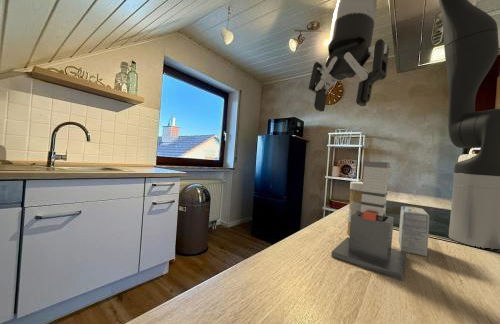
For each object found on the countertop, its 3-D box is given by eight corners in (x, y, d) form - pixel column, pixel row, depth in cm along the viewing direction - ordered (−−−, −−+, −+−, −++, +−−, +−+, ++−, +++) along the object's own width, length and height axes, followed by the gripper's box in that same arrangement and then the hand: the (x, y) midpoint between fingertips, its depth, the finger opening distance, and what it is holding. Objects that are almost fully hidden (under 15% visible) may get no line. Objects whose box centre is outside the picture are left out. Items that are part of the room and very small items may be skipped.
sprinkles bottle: (351, 230, 57) (355, 180, 57) (369, 236, 53) (374, 183, 53) (343, 233, 54) (347, 181, 54) (361, 240, 50) (366, 183, 50)
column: (361, 243, 44) (367, 161, 43) (383, 249, 41) (389, 162, 41) (357, 249, 41) (363, 161, 40) (380, 256, 38) (387, 162, 38)
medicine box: (427, 257, 43) (430, 215, 43) (400, 251, 45) (403, 210, 45) (421, 245, 50) (424, 208, 49) (397, 240, 52) (400, 205, 52)
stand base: (347, 241, 49) (350, 201, 49) (406, 257, 42) (410, 211, 42) (331, 256, 40) (334, 208, 40) (402, 280, 33) (406, 222, 33)
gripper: (402, 19, 37) (387, 109, 37) (330, 47, 49) (318, 116, 48) (384, -8, 33) (367, 94, 32) (310, 30, 44) (296, 106, 44)
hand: (338, 107), depth 40 cm, fingers open, 8 cm apart
